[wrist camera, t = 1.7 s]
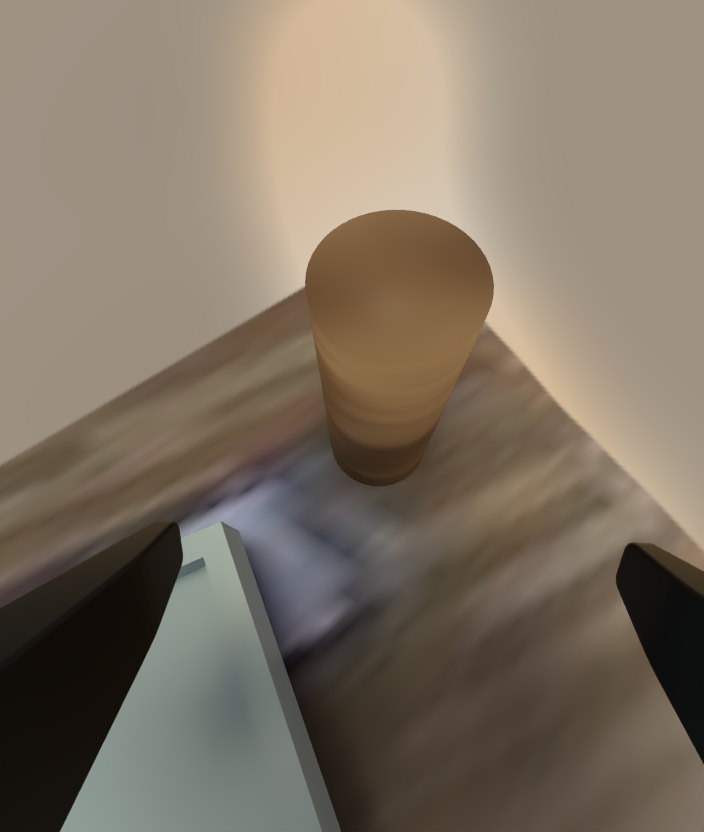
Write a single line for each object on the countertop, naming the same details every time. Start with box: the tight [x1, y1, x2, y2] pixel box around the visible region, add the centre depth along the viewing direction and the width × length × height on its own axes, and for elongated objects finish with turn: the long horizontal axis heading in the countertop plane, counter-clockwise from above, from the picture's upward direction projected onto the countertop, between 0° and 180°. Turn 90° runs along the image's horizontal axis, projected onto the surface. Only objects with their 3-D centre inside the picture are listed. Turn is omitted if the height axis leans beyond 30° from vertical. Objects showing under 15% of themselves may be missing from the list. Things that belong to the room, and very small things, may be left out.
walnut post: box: [305, 210, 494, 486], centre depth 17 cm, size 5×5×13 cm
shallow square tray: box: [60, 521, 341, 832], centre depth 16 cm, size 14×12×5 cm
